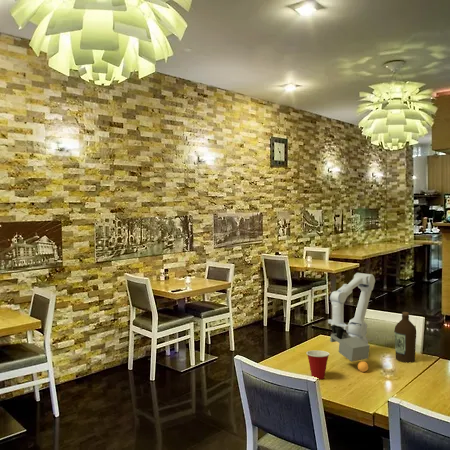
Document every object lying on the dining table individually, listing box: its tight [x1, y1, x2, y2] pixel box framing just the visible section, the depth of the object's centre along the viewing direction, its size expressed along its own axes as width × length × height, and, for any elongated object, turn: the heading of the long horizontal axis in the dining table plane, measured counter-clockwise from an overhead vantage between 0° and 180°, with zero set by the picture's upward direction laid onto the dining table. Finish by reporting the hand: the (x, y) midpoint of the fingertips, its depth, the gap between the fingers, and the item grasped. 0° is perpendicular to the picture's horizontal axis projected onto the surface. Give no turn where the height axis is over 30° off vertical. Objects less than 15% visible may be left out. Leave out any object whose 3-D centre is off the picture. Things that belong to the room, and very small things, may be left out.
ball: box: [357, 360, 369, 373], centre depth 215 cm, size 5×5×5 cm
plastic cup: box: [305, 349, 330, 381], centre depth 208 cm, size 11×11×12 cm
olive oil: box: [393, 311, 417, 364], centre depth 230 cm, size 11×11×25 cm
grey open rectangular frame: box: [329, 331, 370, 362], centre depth 224 cm, size 10×19×7 cm, turn 23°
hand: (337, 339), depth 232 cm, fingers closed on grey open rectangular frame
